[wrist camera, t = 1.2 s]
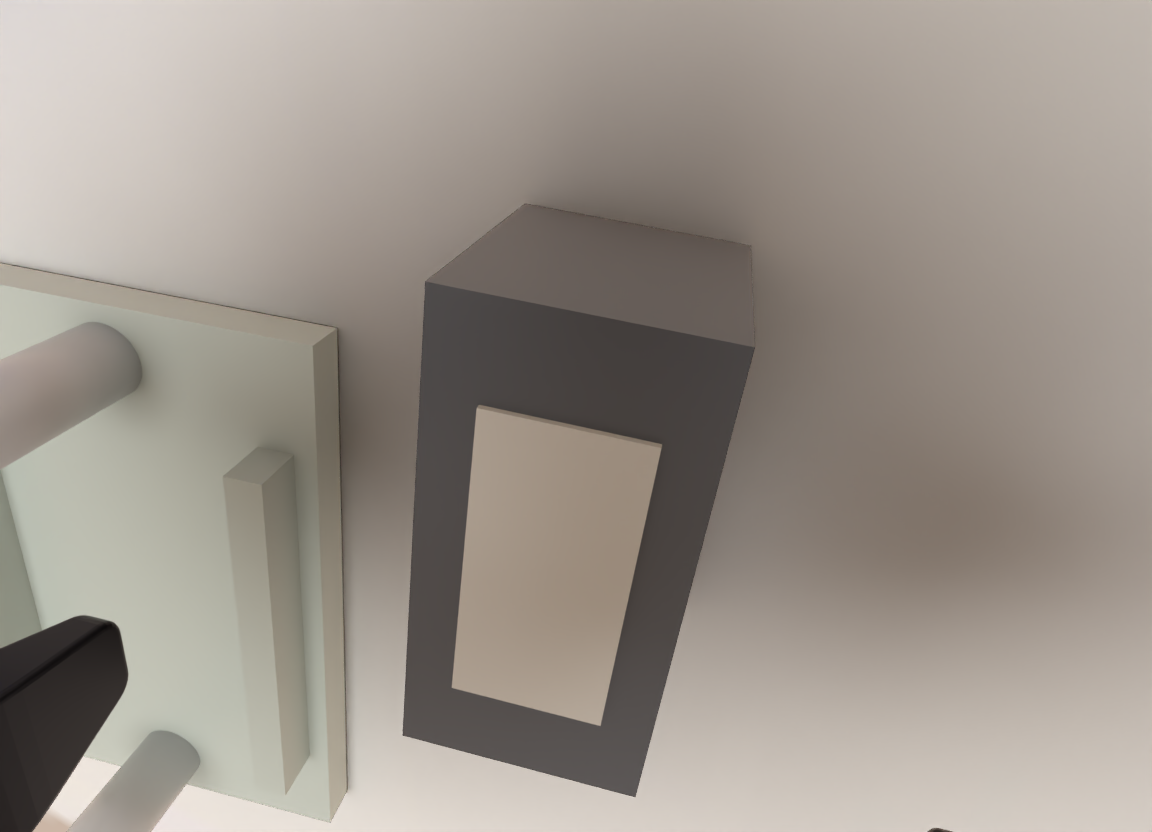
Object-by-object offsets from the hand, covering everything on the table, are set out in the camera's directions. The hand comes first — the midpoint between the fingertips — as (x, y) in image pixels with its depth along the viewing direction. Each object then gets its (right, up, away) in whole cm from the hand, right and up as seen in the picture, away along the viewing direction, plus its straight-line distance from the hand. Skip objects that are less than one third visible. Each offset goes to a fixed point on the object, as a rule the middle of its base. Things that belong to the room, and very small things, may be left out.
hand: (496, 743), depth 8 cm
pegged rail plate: (-9, 0, +11) cm, 14 cm away
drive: (+1, +3, +7) cm, 8 cm away
